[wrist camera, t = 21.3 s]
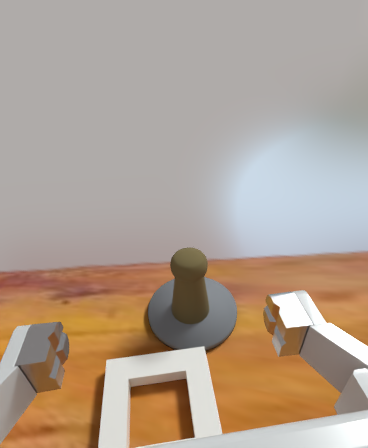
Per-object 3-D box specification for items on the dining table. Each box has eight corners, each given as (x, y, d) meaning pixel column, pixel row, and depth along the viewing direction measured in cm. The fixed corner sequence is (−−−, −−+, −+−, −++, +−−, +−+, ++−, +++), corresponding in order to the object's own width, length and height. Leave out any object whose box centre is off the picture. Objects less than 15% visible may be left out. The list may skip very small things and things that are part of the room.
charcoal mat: (150, 358, 39) (149, 354, 39) (147, 284, 51) (147, 280, 50) (248, 344, 41) (249, 340, 40) (224, 275, 52) (224, 271, 51)
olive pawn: (166, 319, 43) (160, 266, 37) (177, 290, 48) (174, 238, 42) (205, 328, 42) (205, 274, 36) (212, 297, 47) (214, 244, 40)
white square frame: (98, 497, 28) (93, 491, 27) (109, 368, 38) (106, 360, 37) (228, 474, 29) (229, 467, 28) (204, 354, 40) (204, 346, 38)
